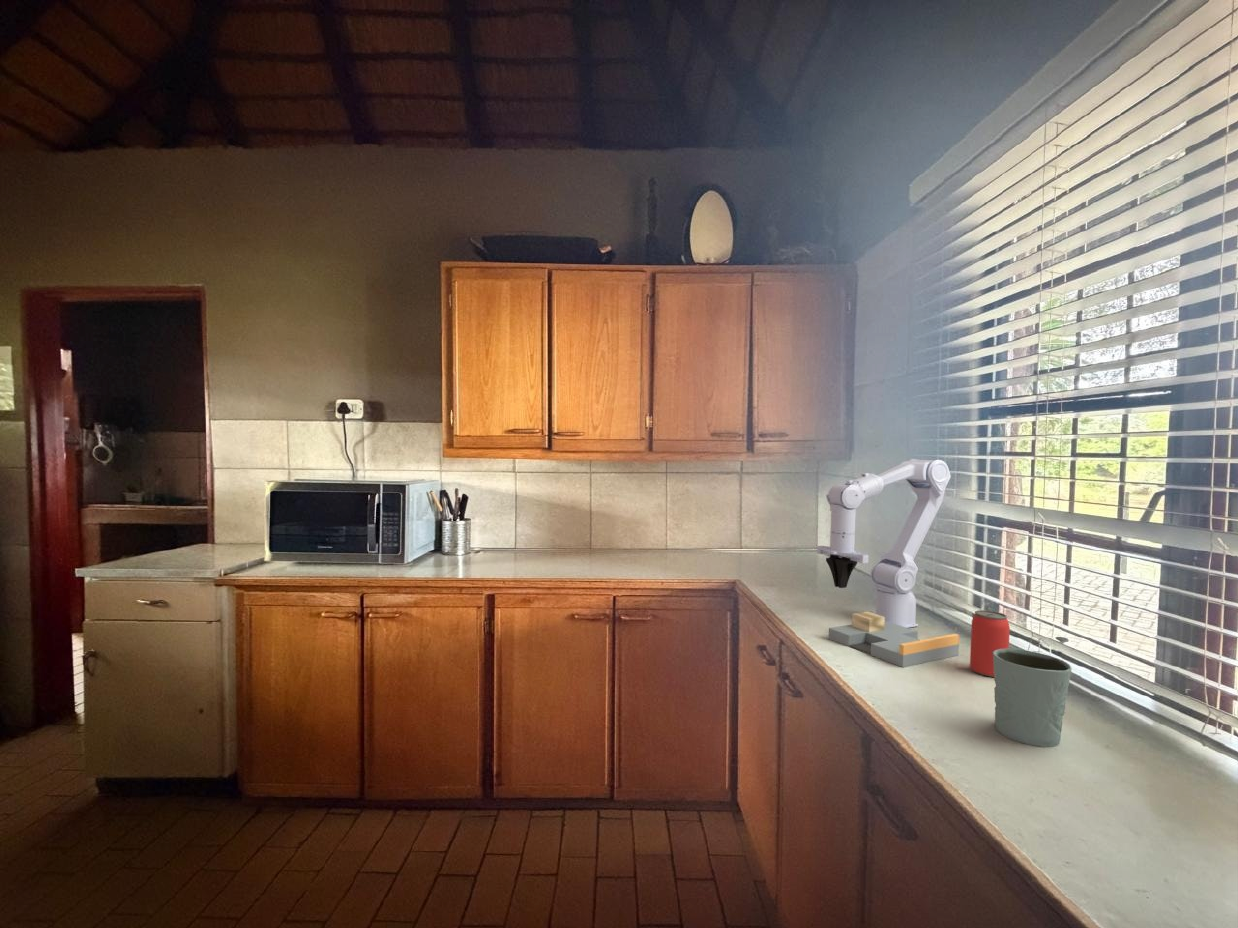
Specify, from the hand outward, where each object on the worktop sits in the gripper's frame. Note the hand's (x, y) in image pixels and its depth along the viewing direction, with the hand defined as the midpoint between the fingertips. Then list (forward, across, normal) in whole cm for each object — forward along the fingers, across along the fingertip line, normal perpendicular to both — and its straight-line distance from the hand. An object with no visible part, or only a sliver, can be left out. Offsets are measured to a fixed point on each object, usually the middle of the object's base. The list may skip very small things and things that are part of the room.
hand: (840, 586), depth 148 cm
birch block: (+8, +8, 0) cm, 12 cm away
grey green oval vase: (+11, +53, -16) cm, 56 cm away
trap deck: (+10, +15, 0) cm, 18 cm away
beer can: (+11, +34, +5) cm, 36 cm away
